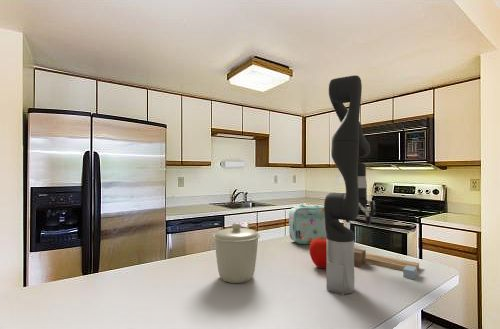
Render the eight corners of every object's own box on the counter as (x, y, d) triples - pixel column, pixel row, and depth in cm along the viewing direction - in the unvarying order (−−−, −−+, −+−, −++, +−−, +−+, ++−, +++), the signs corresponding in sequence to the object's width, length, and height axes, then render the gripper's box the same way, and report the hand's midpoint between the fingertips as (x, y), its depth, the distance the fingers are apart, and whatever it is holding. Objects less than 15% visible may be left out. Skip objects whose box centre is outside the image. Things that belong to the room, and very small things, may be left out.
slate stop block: (413, 279, 103) (413, 271, 103) (403, 276, 105) (403, 269, 105) (416, 274, 107) (416, 267, 107) (406, 272, 110) (406, 264, 110)
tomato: (333, 263, 121) (333, 234, 121) (339, 272, 110) (339, 240, 110) (307, 262, 122) (307, 233, 122) (310, 271, 111) (310, 240, 111)
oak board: (415, 273, 109) (415, 268, 109) (350, 259, 126) (350, 254, 126) (419, 267, 115) (418, 262, 115) (356, 255, 132) (356, 250, 132)
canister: (255, 290, 94) (255, 228, 95) (205, 285, 98) (205, 226, 98) (263, 270, 112) (263, 219, 112) (221, 267, 116) (221, 218, 116)
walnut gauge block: (360, 267, 116) (360, 253, 116) (350, 265, 119) (350, 251, 119) (365, 263, 120) (365, 250, 120) (355, 261, 123) (355, 248, 123)
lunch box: (293, 246, 148) (293, 206, 148) (286, 241, 158) (286, 204, 158) (337, 242, 154) (337, 204, 154) (328, 238, 164) (327, 202, 164)
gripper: (338, 186, 122) (338, 222, 122) (371, 187, 112) (372, 227, 112) (344, 185, 127) (345, 220, 127) (377, 186, 118) (377, 224, 118)
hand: (357, 223), depth 120 cm, fingers open, 8 cm apart
